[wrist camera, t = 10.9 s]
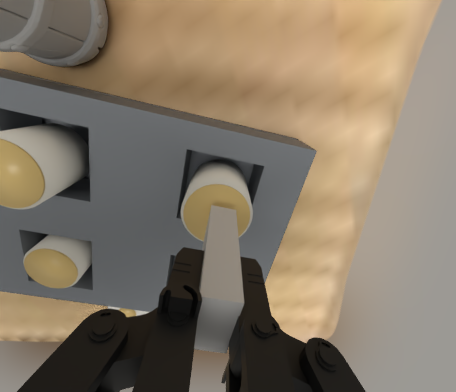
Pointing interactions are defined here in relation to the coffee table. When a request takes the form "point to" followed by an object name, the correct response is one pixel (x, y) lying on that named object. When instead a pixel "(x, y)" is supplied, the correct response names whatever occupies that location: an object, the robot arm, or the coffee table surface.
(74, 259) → the button
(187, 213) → the button
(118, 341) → the robot arm
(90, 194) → the console
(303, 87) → the coffee table surface
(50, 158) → the button
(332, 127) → the coffee table surface
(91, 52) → the mug
